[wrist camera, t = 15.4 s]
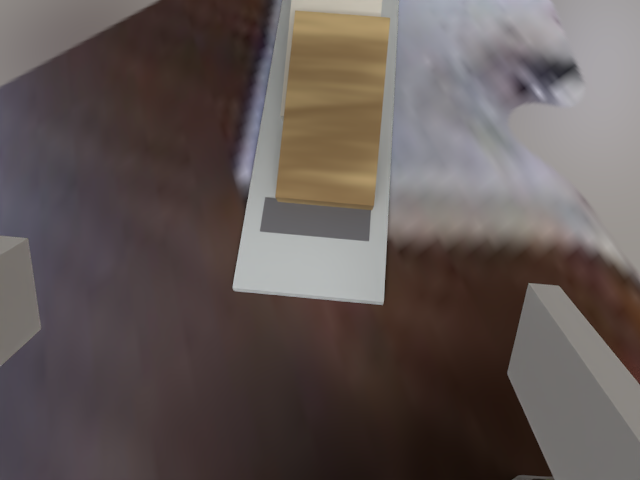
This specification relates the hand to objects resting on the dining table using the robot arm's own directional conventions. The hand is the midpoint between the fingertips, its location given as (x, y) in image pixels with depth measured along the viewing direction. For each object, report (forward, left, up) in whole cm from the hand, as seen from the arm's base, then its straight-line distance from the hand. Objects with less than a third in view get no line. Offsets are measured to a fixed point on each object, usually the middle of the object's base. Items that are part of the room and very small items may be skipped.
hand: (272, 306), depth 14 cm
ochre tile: (+4, +10, -15) cm, 19 cm away
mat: (+6, +17, -17) cm, 25 cm away
